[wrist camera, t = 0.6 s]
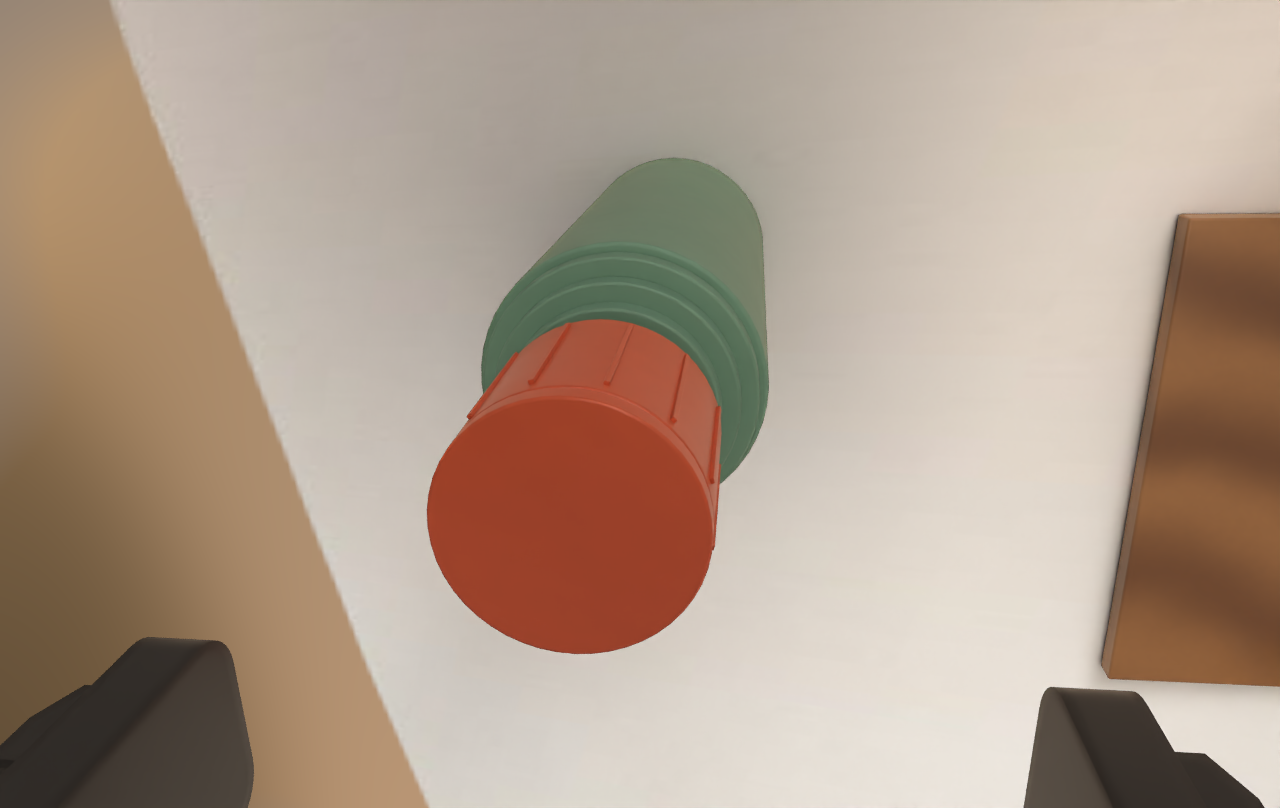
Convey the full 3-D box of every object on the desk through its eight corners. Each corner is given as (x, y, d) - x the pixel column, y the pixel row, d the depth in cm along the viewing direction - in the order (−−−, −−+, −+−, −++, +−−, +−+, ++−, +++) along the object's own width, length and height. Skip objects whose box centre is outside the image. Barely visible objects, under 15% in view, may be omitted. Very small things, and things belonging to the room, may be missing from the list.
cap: (484, 317, 16) (410, 394, 13) (722, 318, 16) (712, 398, 12) (502, 528, 17) (440, 648, 14) (721, 535, 17) (713, 661, 14)
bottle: (583, 159, 30) (357, 322, 13) (764, 156, 29) (780, 326, 12) (590, 332, 32) (403, 673, 15) (761, 333, 31) (769, 690, 14)
